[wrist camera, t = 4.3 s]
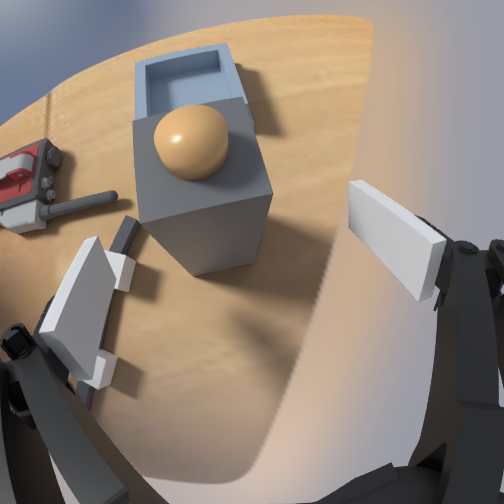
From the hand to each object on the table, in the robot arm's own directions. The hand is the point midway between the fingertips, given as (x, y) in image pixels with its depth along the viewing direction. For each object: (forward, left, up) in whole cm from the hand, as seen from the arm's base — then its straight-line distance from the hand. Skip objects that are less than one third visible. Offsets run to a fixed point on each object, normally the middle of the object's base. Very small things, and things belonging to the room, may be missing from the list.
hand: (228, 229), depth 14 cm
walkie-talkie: (-17, +11, -8) cm, 22 cm away
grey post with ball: (-1, +2, -7) cm, 7 cm away
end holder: (-1, +16, -7) cm, 17 cm away
